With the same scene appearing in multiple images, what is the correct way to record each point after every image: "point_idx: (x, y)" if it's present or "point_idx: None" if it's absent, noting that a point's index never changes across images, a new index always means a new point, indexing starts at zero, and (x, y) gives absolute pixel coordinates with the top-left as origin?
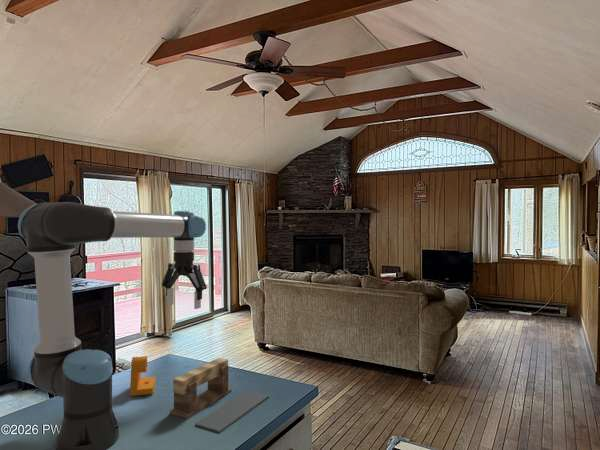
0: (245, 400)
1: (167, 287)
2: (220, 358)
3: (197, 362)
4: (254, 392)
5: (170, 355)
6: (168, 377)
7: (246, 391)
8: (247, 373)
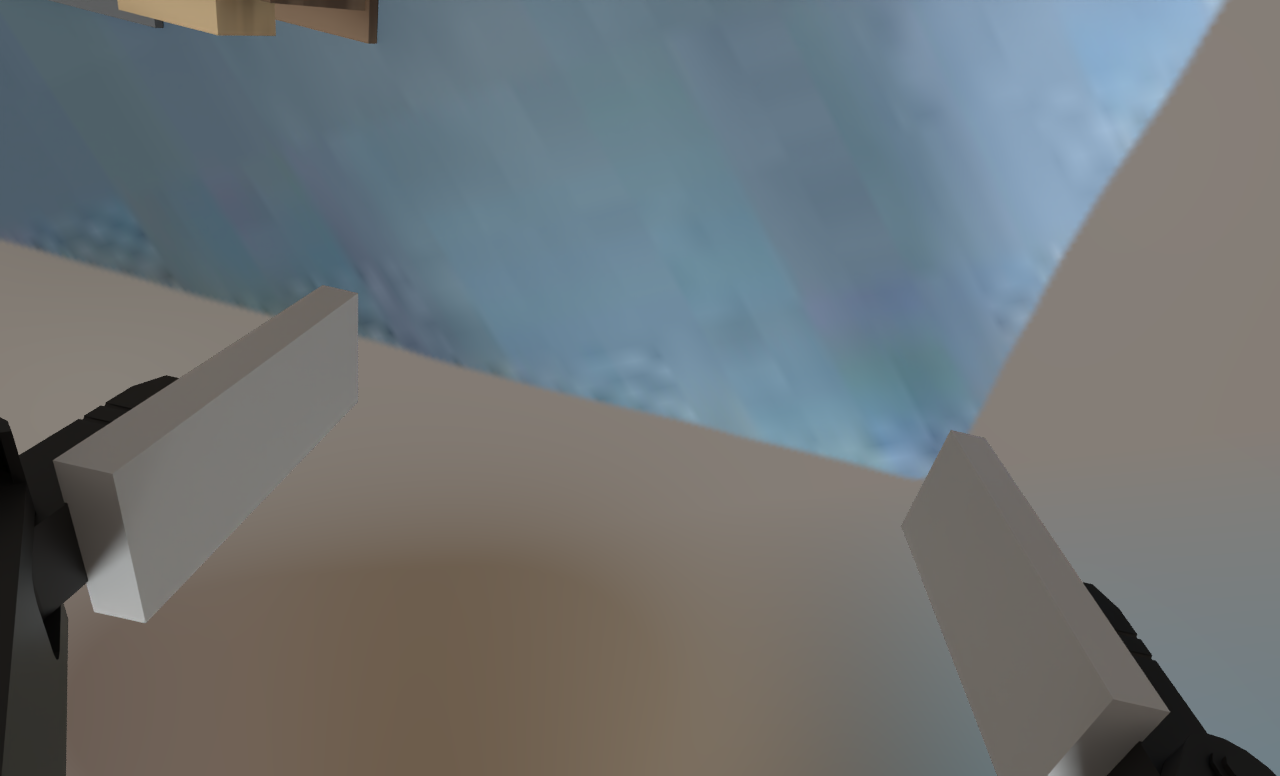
0: None
1: (1181, 751)
2: (191, 16)
3: (707, 406)
4: (94, 10)
5: None
6: (770, 128)
7: None
8: None
